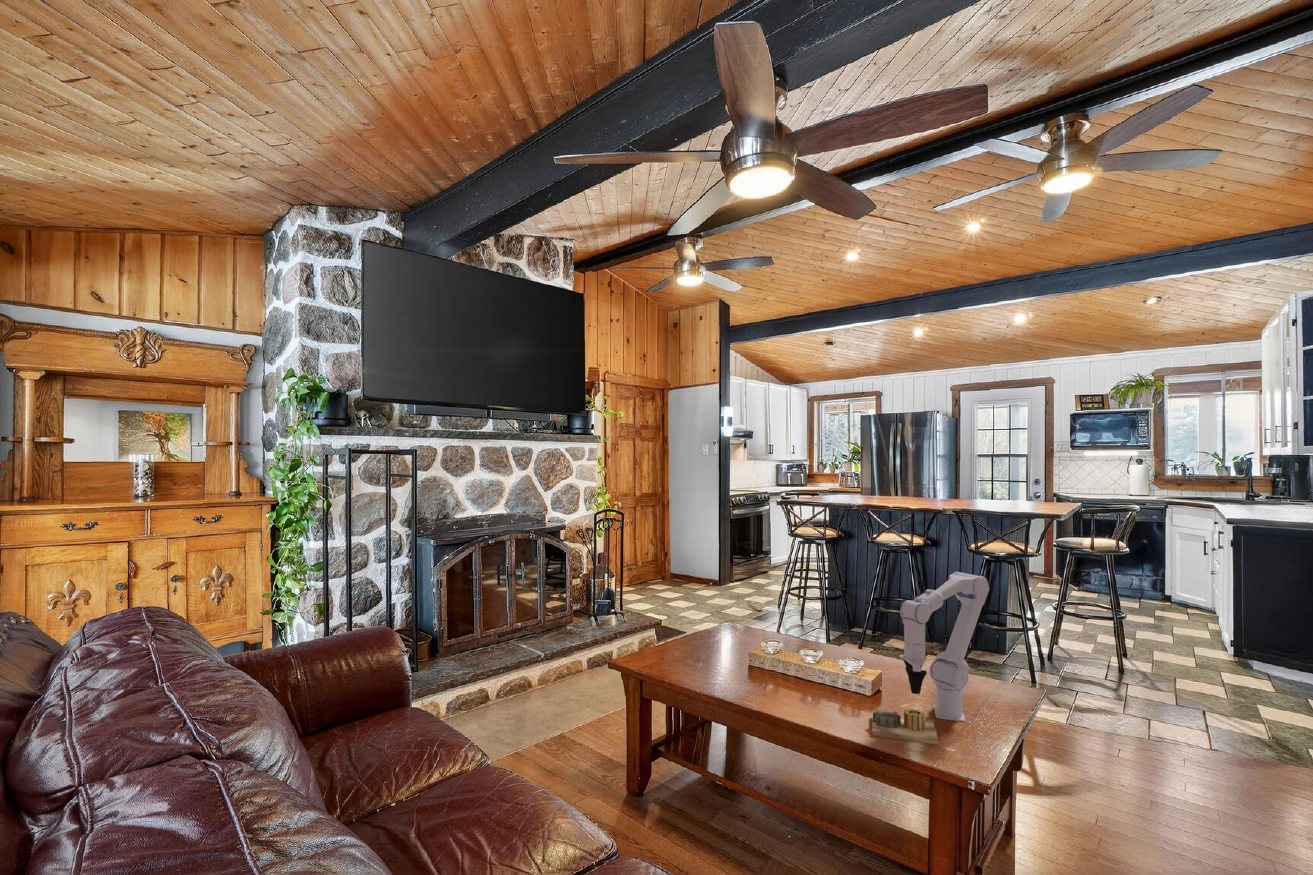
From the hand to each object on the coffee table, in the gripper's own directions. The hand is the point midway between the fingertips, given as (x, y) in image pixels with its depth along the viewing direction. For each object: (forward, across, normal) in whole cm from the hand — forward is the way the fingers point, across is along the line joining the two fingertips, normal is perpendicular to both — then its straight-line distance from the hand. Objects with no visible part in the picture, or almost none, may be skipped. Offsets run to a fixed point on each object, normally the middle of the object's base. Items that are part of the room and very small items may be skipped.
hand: (914, 688), depth 179 cm
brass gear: (+9, +5, 0) cm, 10 cm away
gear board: (+10, +5, -3) cm, 12 cm away
